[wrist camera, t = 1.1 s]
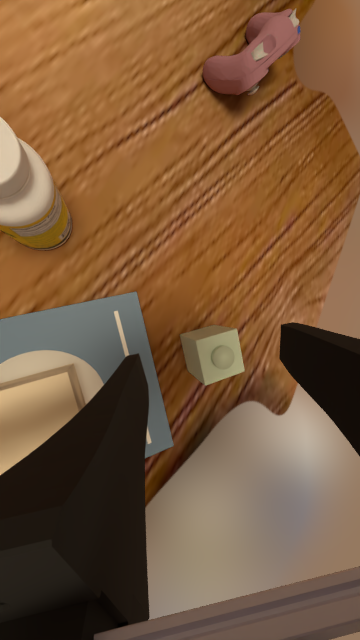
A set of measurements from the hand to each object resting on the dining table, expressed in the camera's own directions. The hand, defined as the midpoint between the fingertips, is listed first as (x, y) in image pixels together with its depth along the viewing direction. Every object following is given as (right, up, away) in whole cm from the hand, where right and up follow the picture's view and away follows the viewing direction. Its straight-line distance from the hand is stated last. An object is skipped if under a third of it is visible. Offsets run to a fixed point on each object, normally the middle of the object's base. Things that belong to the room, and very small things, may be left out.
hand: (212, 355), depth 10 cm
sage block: (+1, -2, +15) cm, 15 cm away
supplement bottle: (-15, +11, +9) cm, 20 cm away
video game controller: (+5, +31, +14) cm, 34 cm away
